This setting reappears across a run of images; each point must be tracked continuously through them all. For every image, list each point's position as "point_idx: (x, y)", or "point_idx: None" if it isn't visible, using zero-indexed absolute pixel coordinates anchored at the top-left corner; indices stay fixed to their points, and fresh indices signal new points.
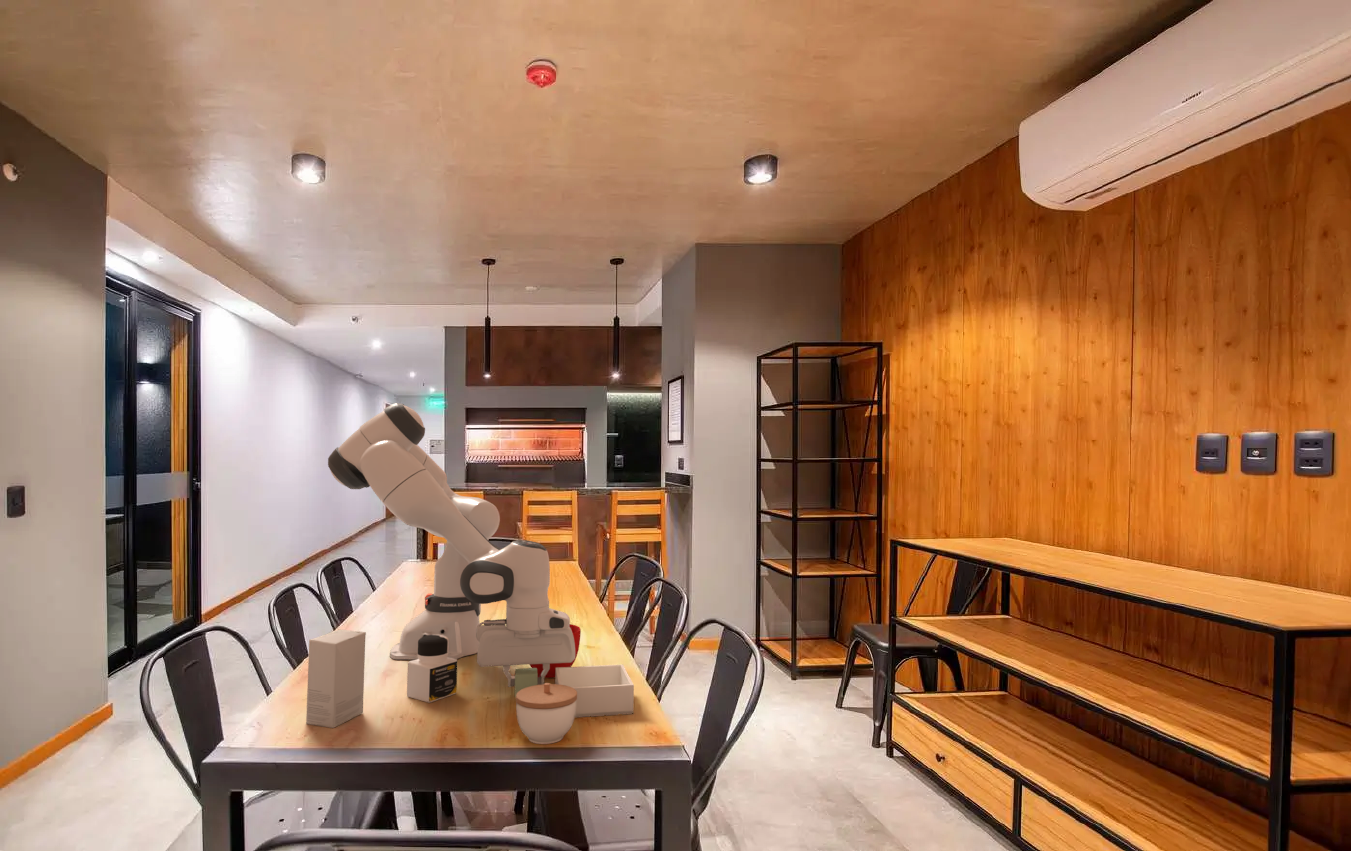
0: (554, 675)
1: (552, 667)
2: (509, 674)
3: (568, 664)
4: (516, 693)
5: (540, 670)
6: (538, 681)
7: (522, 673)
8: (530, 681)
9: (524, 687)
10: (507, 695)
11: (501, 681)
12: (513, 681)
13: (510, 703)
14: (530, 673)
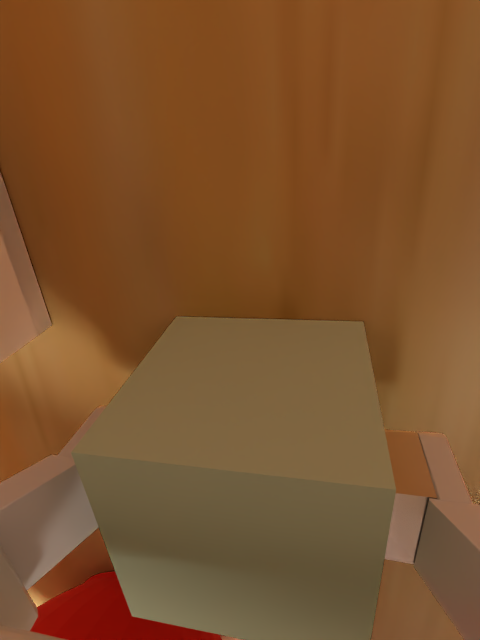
0: (116, 580)
1: (87, 627)
2: (463, 564)
3: None
4: (350, 336)
5: (176, 631)
6: None
7: (279, 520)
8: (191, 395)
9: (268, 362)
10: (424, 377)
11: (424, 611)
12: (391, 463)
13: (428, 142)
14: (168, 493)
